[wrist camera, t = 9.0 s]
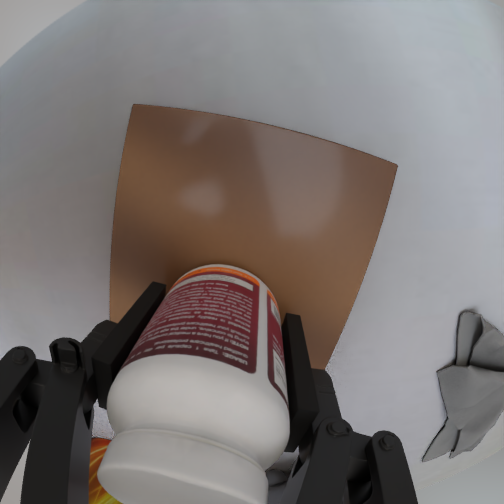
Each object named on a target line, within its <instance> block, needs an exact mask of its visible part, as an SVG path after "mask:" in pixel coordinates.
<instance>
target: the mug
mask: <svg viewBox="0 0 504 504" xmlns="http://www.w3.org/2000/svg"><path fill="white" fill-rule="evenodd" d="M110 442H111V440H107V439H103V438H91V450H90V466H89V504H123V503H121V502H120V501H118V500H117V499H115V498H114V497H113V496H111V495H110V494H109V493H108V492H107V491H106V490H105V489H104V488H103V487H102V485H101V484H100V482H99V480H98V477H97V471H98V468H99V466H100V464H101V461H102V459H103V457H104V454H105V452H106V450H107V447H108V445H109V443H110Z"/></svg>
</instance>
